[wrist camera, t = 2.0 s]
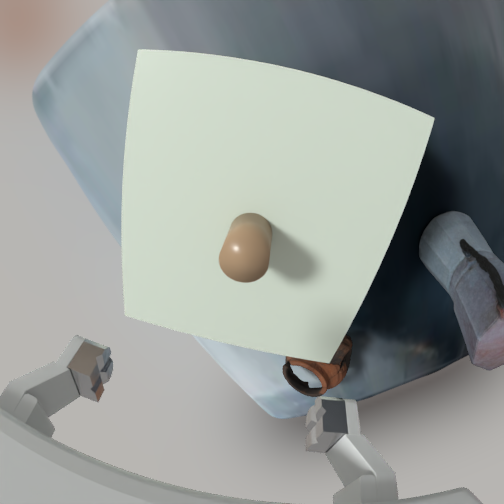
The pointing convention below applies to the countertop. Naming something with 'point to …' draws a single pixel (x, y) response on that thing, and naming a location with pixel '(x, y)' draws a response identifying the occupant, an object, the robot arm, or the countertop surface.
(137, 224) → the sage cover
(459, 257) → the moka pot
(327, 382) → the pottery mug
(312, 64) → the countertop surface
